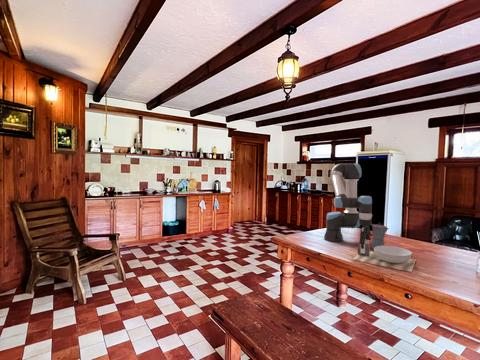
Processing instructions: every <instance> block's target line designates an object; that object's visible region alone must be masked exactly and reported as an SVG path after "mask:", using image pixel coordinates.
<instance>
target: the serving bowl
mask: <svg viewBox="0 0 480 360" xmlns="http://www.w3.org/2000/svg"><path fill="white" fill-rule="evenodd" d="M373 252H375V254H376V256H377V257H378V258H380V259H382V260H384V261H387V262H390V263H404V262H407V261H408V260H410V259H412V254H413V253H412V251H410V250H409V249H407V248H403V247H399V246H392V245H384V246H376V247H374V249H373Z"/></svg>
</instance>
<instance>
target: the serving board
mask: <svg viewBox="0 0 480 360" xmlns="http://www.w3.org/2000/svg"><path fill="white" fill-rule="evenodd" d="M360 245H361V243H359V242H358V243H357V255H356V256H355V257H353V258H352V261H355V262H356V261H357V262H362V263H366V264H370V265H375V266H380V267H386V268H389V269H395V270H399V271H403V272H409V273H412V272H413V269H414V267H415V264H416V261H417V259H414V258H410V260H408V261H407V262H404V263H390V262H387V261H384V260H382V259H380V258H378V257H377V256H376V254H375V252H374V251H372V250H371V249H370V248H371V246H370V243H369V244H365V254H363V253H360Z"/></svg>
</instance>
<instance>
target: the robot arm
mask: <svg viewBox="0 0 480 360" xmlns="http://www.w3.org/2000/svg"><path fill="white" fill-rule="evenodd" d="M362 174H363V173H362V168H361V165H360V164H359V163H355V162H354V163H353V162H352V163H350V162H349V163H337V164H335V165H334V166H333V167H332V168H331V169H330V171H329V179H331V181H332V185H333V190H334V191H333V192H334V195H335V197H334V199H333V205H334V207H335V208H336V209H337V208H338V209H341V208H342V209H345V210H343V213H342V212H341V211H331V212H327V214H326V219H325V220H326V227H325V228H326V230H325V233H324V236H323V239H324V240H325V241H327V242H332V243H334V242H335V243H341V242H343V241H344V236H343V234H342V229H358V228H360V233H359V235H360V236H359V242H358V243H361V245H360V253H363V254H365V244H370V241H372V239H371V235H370V233H371V230H370V227H371V226H370V225H371V224H373V223H372V217H373V214H372V211H373V209H372V208H373V207H372V206H373V199H372V196H370V195H361V196H359V197H358V181H359V180H360V178H361V177H362ZM344 181H345V184H344ZM357 209H359V211H358V210H357Z"/></svg>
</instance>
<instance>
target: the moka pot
mask: <svg viewBox="0 0 480 360" xmlns="http://www.w3.org/2000/svg"><path fill="white" fill-rule="evenodd" d="M370 227H371V228H372V233H371V232H370V237H372V240H371V246H370V248H371V249H373V250H374V247H376V246H385V234H386V233H387V232H388V230H389V228H388V227H387V226H385V225H383V224H381V222H378V224H374V223H372V224H371V225H370Z"/></svg>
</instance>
